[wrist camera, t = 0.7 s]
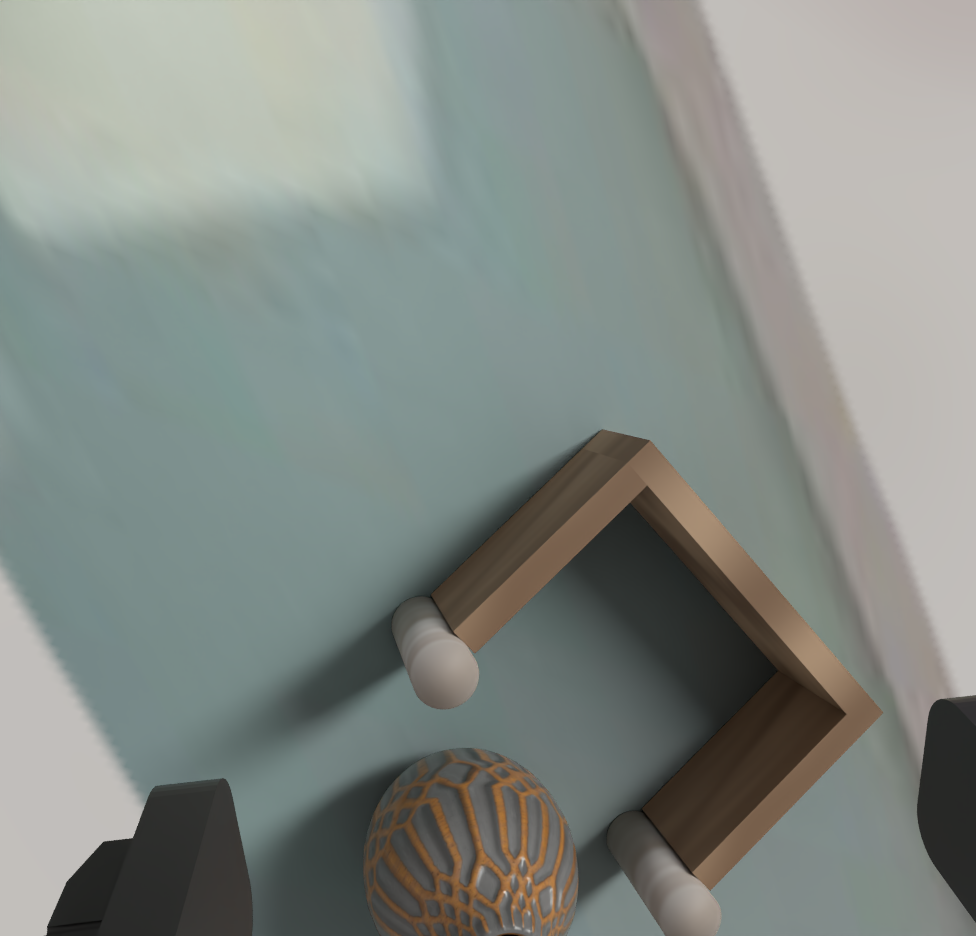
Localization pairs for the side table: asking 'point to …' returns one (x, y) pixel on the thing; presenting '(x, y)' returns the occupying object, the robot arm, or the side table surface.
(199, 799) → the robot arm
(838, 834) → the side table surface
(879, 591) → the side table surface
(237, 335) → the side table surface
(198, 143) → the side table surface
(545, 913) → the vase
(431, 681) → the housing
